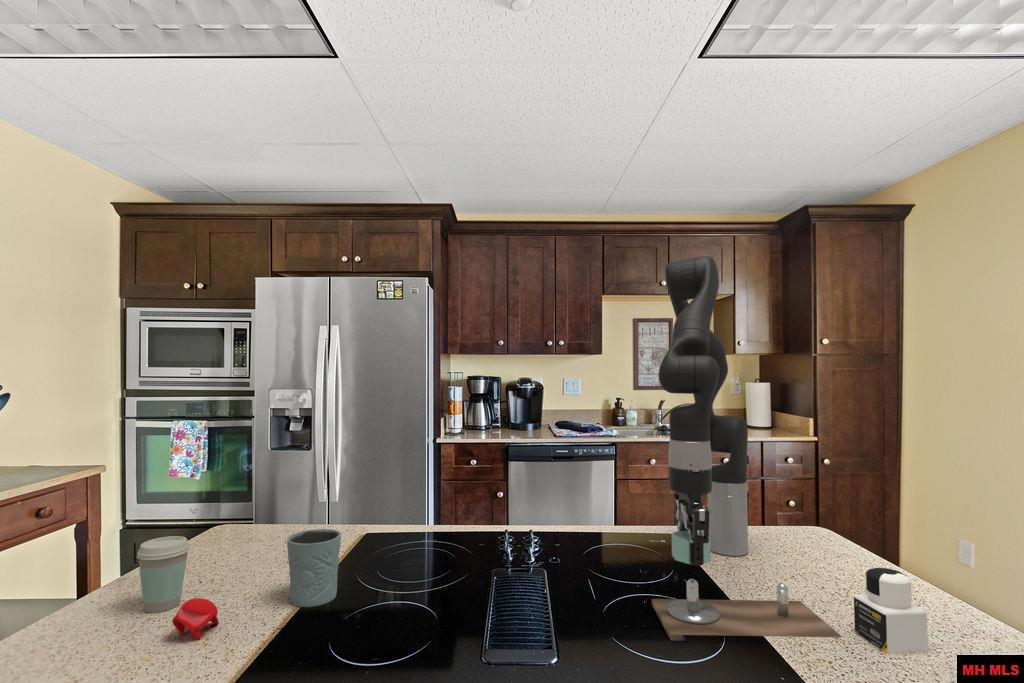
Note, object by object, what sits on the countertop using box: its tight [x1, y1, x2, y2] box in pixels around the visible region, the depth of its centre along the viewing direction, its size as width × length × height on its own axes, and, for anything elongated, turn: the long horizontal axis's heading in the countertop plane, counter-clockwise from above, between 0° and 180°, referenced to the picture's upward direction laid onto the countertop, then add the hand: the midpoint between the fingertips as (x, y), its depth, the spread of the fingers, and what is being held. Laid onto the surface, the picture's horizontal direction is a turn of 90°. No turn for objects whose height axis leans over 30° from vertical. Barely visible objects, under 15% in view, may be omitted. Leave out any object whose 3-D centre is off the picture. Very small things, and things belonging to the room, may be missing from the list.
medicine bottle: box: [853, 567, 929, 654], centre depth 88 cm, size 7×7×12 cm
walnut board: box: [651, 598, 843, 642], centre depth 97 cm, size 14×28×1 cm, turn 88°
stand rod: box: [776, 582, 789, 617], centre depth 98 cm, size 2×2×6 cm
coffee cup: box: [136, 535, 191, 614], centre depth 103 cm, size 8×8×12 cm
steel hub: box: [667, 578, 719, 625], centre depth 98 cm, size 9×9×6 cm
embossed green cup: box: [286, 528, 342, 608], centre depth 107 cm, size 10×10×12 cm
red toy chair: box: [171, 597, 220, 641], centre depth 93 cm, size 8×6×6 cm
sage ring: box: [671, 530, 712, 565], centre depth 99 cm, size 6×6×4 cm
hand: (691, 557), depth 99 cm, fingers closed on sage ring, 6 cm apart
